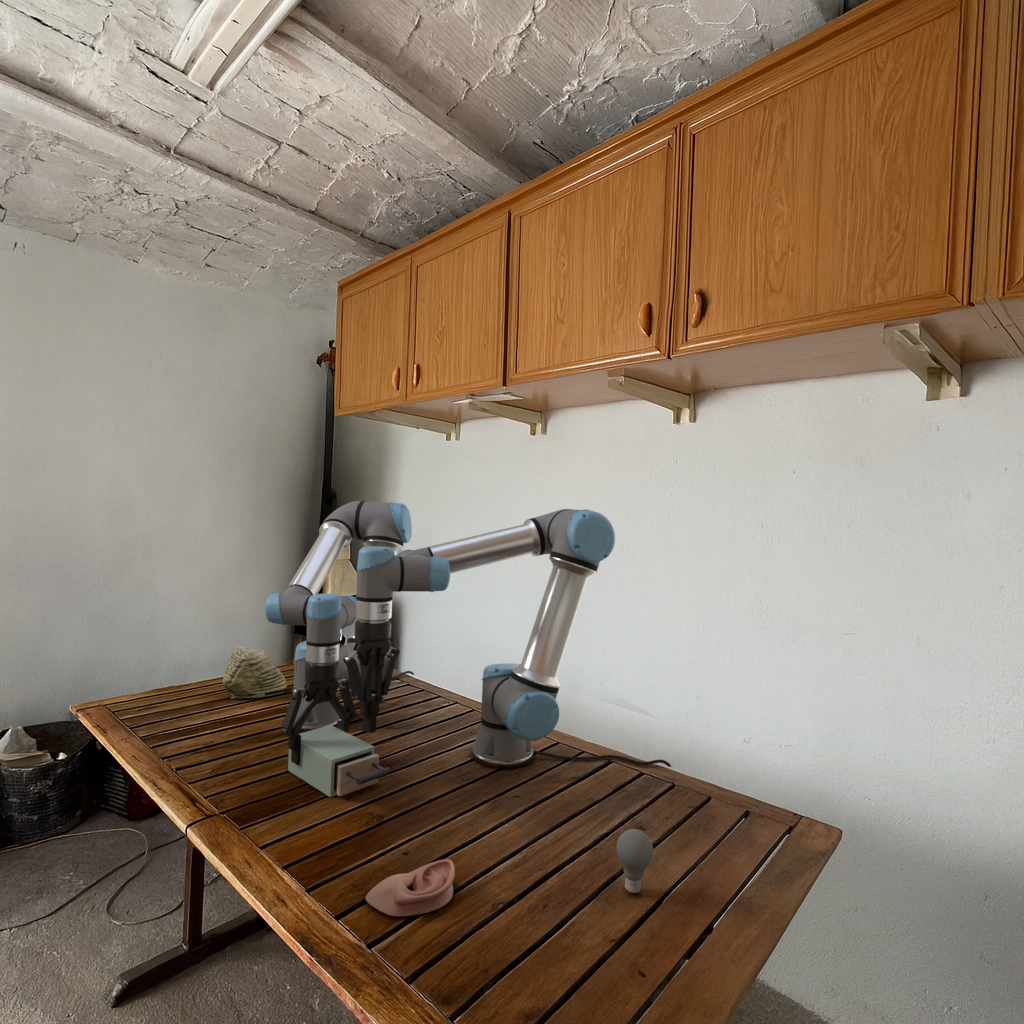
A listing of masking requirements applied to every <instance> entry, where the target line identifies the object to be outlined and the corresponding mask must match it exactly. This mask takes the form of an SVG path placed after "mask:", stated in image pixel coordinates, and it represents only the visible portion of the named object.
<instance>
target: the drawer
mask: <svg viewBox="0 0 1024 1024" xmlns="http://www.w3.org/2000/svg"><path fill="white" fill-rule="evenodd" d="M390 774H391V769H390V767H389V766H386V767H383V766H382V765H380V754H378V753H374V754H373V755H370V753H364V754H361V755H358V756H355V757H352V758H349V759H346V760H342V761H339V762H336V763H335V772H334V789H336V790H337V795H336V796H338V797H342V796H345V795H348V794H351V793H353V792H355V791H358V790H361V789H364V788H366V787H370V786H372V785H375V784H377V783H379V779H380V778H382V777H385V776H388V775H390Z"/></svg>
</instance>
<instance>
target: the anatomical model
mask: <svg viewBox="0 0 1024 1024" xmlns="http://www.w3.org/2000/svg"><path fill="white" fill-rule="evenodd" d="M455 875H456V870H455V863H454V862H453V861H452V860H451V859H448V858H446V859H439V860H436V861H432V862H430V863H426V864H425V865H422V866H420V867H418V868H416V869H414V870H412V871H410V872H408V873H396V874H392V875H390V876H388V877H386V878H384V879H382V880H381V881H380V882H378V883H377V884H376V885H375V886H374V887H372V888H371V889H370V890H369V891H368V893H367V894H366V895H365V901H366V902H367V903H368V905H370V906H371V907H373V908H374V909H375V910H376V911H379V912H380V913H382V914H385V915H387V916H390V917H399V918H400V917H410V916H417V915H422V914H427V913H430V912H434V911H436V910H438V909H441V908H442V907H444V906H445V905H447V904H448V903H449V902H451V900H452V898H453V895H454V885H453V883H454V880H455Z"/></svg>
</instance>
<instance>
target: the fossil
mask: <svg viewBox="0 0 1024 1024" xmlns="http://www.w3.org/2000/svg"><path fill="white" fill-rule="evenodd" d="M222 676H223V677H222V685H223V687H224V688H225V690H226V691H228V693H229V698H230V699H250V698H264V697H271V696H275V695H281V694H284V693H285V691H286V689H287V687H288V686H287V680H286V678H285V676H284V674H283V673H282V672H281V669H279V668H278V667H277V665H276V663H275V662H274V660H273V659H272V658H271V657H270V656H269V655H268V654H267V653H266V652H265V650H264V649H263V648H260V647H258V648H251V647H247V646H246V647H245V646H238V647H237V648H236V649H235V650H233V651H232V653H231V656H230V657H229V659H228V660H227V663H226V666H225V668H224V671H223V675H222Z"/></svg>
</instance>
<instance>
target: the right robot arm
mask: <svg viewBox="0 0 1024 1024" xmlns="http://www.w3.org/2000/svg"><path fill="white" fill-rule="evenodd" d="M615 544H616V533H615V529H614V527H613V525H612V522H611V521H610V520H609V519H608V518H607V516H606V515H604V514H602V513H600V512H598V511H595V510H590V509H574V508H573V509H572V508H563V509H558V510H555V511H552V512H549V513H545V514H542V515H538V516H536V517H535V516H534V517H532V518H527V519H525V520H524V522H523V524H519V525H516V526H511V527H507V528H501V529H498V530H493V531H490V532H489V531H488V532H486V533H485V532H484V533H480V534H476V535H472V536H468V537H463V538H459V539H456V540H455V539H454V540H451V541H446V542H442V543H438V544H434V545H429V546H427V547H422V548H417V549H404V550H402V551H400V552H399V553H397V555H396V556H395V554H394V549H393V548H391V547H380V546H367V547H365V546H363V547H361V548H360V549H359V551H358V556H357V565H356V566H357V567H356V588H355V589H356V592H355V593H356V595H355V599H356V610H355V617H356V619H358V620H357V621H355V622H354V630H355V640H356V643H355V646H354V649H353V650H354V651H353V652H352V653H351V654H350V655H349V656H344V657H343V661H344V662H345V664H346V666H347V669H348V675H349V680H350V686H351V689H350V693H351V697H352V700H356V701H357V702H360V701H361V704H360V712H359V713H360V717H361V718H362V727H361V728H362V731H364V732H366V733H368V734H373V733H374V734H375V733H376V732H377V715H379V713H380V702H382V701H383V700H384V696H387V695H388V694H389V690H390V686H391V682H392V680H391V678H392V677H393V673H394V668H395V664H396V660H397V659H398V657H399V655H400V649H397V648H395V647H393V646H392V645H391V644H392V643H391V641H390V639H391V637H392V621H391V620H390V619H392V617H393V595H394V592H397V593H401V592H417V593H418V592H423V593H424V592H430V593H435V592H443V591H446V590H447V589H448V587H449V584H450V579H451V574H454V573H459V572H463V571H466V570H470V569H475V568H479V567H482V566H487V565H490V564H494V563H499V562H503V561H506V560H510V559H514V558H519V557H522V556H527V555H532V556H533V557H540V556H543V555H549V556H548V557H549V560H550V562H551V565H552V568H551V572H550V575H549V578H548V581H547V584H546V587H545V590H544V593H543V596H542V599H541V602H540V604H539V605H540V606H539V609H538V612H537V614H536V617H535V621H534V624H533V626H532V630H531V632H530V636H529V638H528V642H527V645H526V648H525V651H524V654H523V657H522V659H521V663H511V662H508V663H506V662H505V663H494V664H489V665H485V667H484V668H483V673H482V678H481V681H482V685H481V687H482V688H481V712H480V718H481V720H480V725H479V728H478V731H477V734H476V737H475V740H474V742H473V745H472V754H471V755H472V756H471V757H472V758H473V760H474V761H476V762H477V763H479V764H481V765H484V766H487V767H490V768H496V769H516V768H520V767H523V766H527V765H529V764H530V763H531V762H532V761H533V758H534V755H539V756H543V757H548V758H549V757H550V758H554V759H559V760H567V761H593V760H601V759H615V760H621V761H624V762H627V763H631V764H635V765H639V766H650V765H654V764H664V765H665V766H667V767H669V768H671V767H672V764H671V763H670V762H669V761H667V760H665V759H654V760H649V761H639V760H636V759H635V760H634V759H631V758H627V757H625V756H621V755H617V754H601V755H592V756H569V755H558V754H554V753H550V752H545V751H538V750H534V747H533V743H532V742H534V741H538V740H541V739H543V738H545V737H547V736H549V734H550V733H552V732H553V731H554V729H555V728H556V726H557V724H558V723H559V718H560V707H559V704H558V701H557V696H558V694H559V690H560V687H561V684H560V682H559V680H558V678H557V675H558V672H559V669H560V665H561V662H562V659H563V656H564V654H565V651H566V647H567V644H568V641H569V638H570V635H571V631H572V627H573V626H574V622H575V619H576V616H577V613H578V610H579V606H580V604H581V601H582V597H583V594H584V591H585V588H586V585H587V582H588V579H589V578H590V577H592V576H594V575H596V574H597V573H598V570H599V566H600V563H601V562H602V561H604V560H605V559H607V558H608V557H610V555H611V554H612V552H613V551H614V548H615ZM357 658H358V659H359V661H360V665H359V666H360V668H361V674H360V672H359V667H358V664H357V663H358V660H357Z"/></svg>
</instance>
